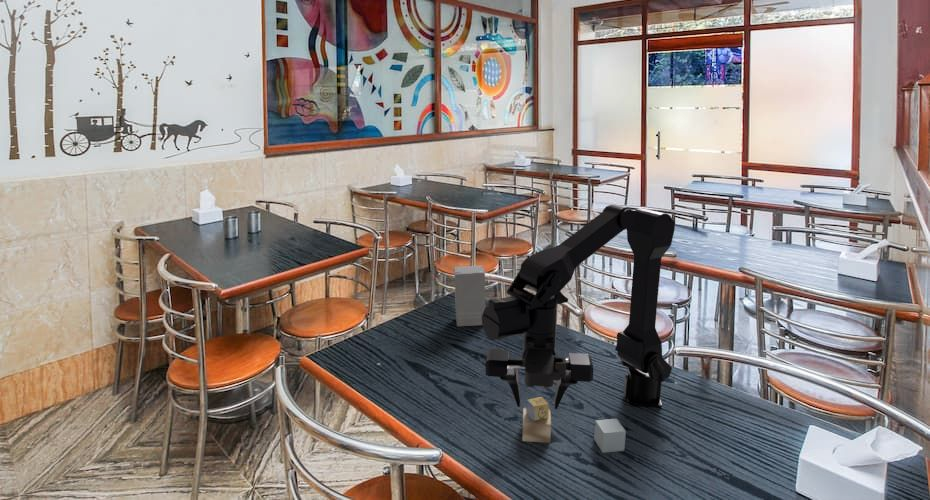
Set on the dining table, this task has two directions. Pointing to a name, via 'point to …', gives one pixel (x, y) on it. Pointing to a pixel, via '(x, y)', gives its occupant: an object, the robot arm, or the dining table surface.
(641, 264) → the robot arm
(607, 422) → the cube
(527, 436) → the beech block
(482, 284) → the skincare box
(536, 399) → the alphabet block
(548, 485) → the dining table surface
